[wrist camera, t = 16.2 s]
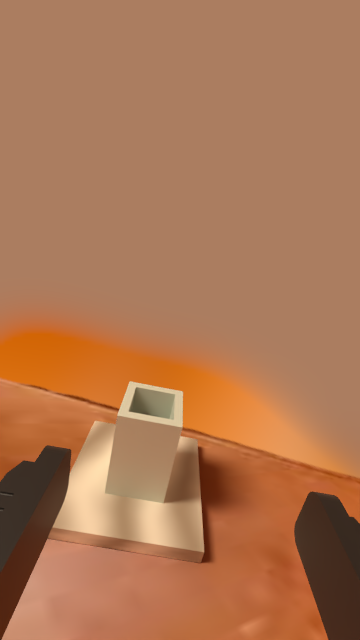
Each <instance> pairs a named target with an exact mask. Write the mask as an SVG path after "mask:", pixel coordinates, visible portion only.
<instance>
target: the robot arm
mask: <svg viewBox="0 0 360 640" xmlns="http://www.w3.org/2000/svg"><path fill="white" fill-rule="evenodd" d="M70 461H71V450H70V449H66V448H60V447H54V446H46V447H45V448H44V449H43V451H42V452H41V454H40V455H39V457H38V458H37V460H36V461H35V462H30V461H23V462H21V463H20V464H19V465H17V466H16V467H15V468H13V469H12V470H11V471H9V472H8V473H7V474H6V475H5V476H4V478H3V479H2V480H1V482H0V640H1V639H2V637H3V635H4V632H5V630H6V628H7V626H8V624H9V621H10V619H11V617H12V615H13V613H14V610H15V608H16V606H17V604H18V602H19V599H20V597H21V595H22V593H23V591H24V589H25V586H26V584H27V582H28V580H29V578H30V575H31V573H32V571H33V569H34V567H35V564H36V562H37V560H38V558H39V556H40V553H41V551H42V549H43V547H44V545H45V542H46V540H47V538H48V536H49V534H50V531H51V529H52V527H53V525H54V523H55V521H56V518H57V516H58V514H59V512H60V510H61V507H62V505H63V503H64V500H65V497H66V493H67V490H68V485H69V473H70ZM294 532H295V542H296V546H297V549H298V552H299V555H300V557H301V560H302V563H303V566H304V569H305V572H306V575H307V578H308V581H309V584H310V587H311V590H312V592H313V595H314V598H315V601H316V604H317V607H318V610H319V613H320V616H321V619H322V622H323V625H324V627H325V630H326V633H327V636H328V639H329V640H360V524H359V523H358V522H357V520H356V519H355V518H354V517H349V515H348V514H347V512H346V510H345V508H344V506H343V505H342V503H341V501H340V500H339V499H338V497H336V496H335V495H329V494H323V493H317V492H310V493H309V494H308V496H307V498H306V501H305V503H304V505H303V507H302V510H301V512H300V514H299V516H298V519H297V521H296V523H295V531H294Z"/></svg>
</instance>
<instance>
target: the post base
mask: <svg viewBox="0 0 360 640" xmlns="http://www.w3.org/2000/svg"><path fill="white" fill-rule="evenodd" d="M115 427H116V424H111V423H105V422H100V421H95V422H94V424H93V426H92V428H91V430H90V432H89V435H88V437H87V439H86V441H85V443H84V445H83V447H82V449H81V451H80V453H79V456H78V458H77V460H76V462H75V464H74V466H73V468H72V470H71V472H70V474H69V485H68V490H67V493H66V497H65V500H64V503H63V505H62V507H61V510H60V512H59V514H58V516H57V518H56V521H55V523H54V525H53V527H52V529H51V531H50V534H49V536H48V538H49V539H55V540H61V541H68V542H74V543H80V544H86V545H92V546H98V547H105V548H111V549H117V550H123V551H129V552H135V553H142V554H148V555H154V556H160V557H166V558H172V559H179V560H185V561H191V562H197V563H201V561H202V558H203V555H204V539H203V523H202V507H201V491H200V475H199V459H198V443H197V439H193V438H187V437H182V436H180V439H179V443H178V447H177V451H176V455H175V459H174V463H173V467H172V471H171V475H170V479H169V483H168V487H167V491H166V495H165V499H164V503H159V502H153V501H147V500H141V499H135V498H129V497H124V496H118V495H112V494H106V493H105V488H106V481H107V475H108V469H109V463H110V457H111V451H112V445H113V439H114V433H115Z"/></svg>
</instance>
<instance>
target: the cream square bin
mask: <svg viewBox="0 0 360 640" xmlns="http://www.w3.org/2000/svg"><path fill="white" fill-rule="evenodd" d="M182 414H183V392H182V391H177V390H171V389H166V388H161V387H156V386H151V385H145V384H140V383H135V382H130V383H129V385H128V388H127V391H126V393H125V396H124V399H123V402H122V404H121V407H120V410H119V412H118V415H117V421H116V427H115V433H114V439H113V445H112V451H111V457H110V463H109V469H108V475H107V481H106V488H105V493H106V494H112V495H118V496H124V497H129V498H135V499H141V500H147V501H153V502H159V503H164V499H165V495H166V491H167V487H168V483H169V479H170V475H171V471H172V467H173V463H174V459H175V455H176V451H177V447H178V443H179V439H180V435H181V431H182V424H183V423H182V422H183V416H182Z"/></svg>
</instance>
